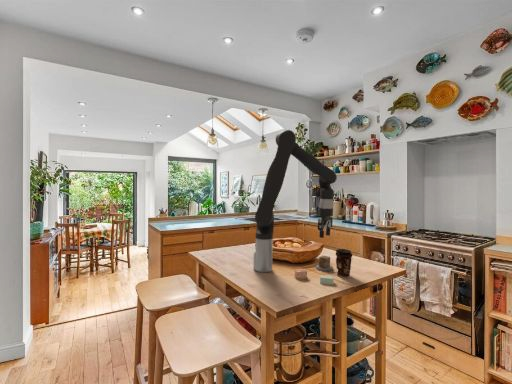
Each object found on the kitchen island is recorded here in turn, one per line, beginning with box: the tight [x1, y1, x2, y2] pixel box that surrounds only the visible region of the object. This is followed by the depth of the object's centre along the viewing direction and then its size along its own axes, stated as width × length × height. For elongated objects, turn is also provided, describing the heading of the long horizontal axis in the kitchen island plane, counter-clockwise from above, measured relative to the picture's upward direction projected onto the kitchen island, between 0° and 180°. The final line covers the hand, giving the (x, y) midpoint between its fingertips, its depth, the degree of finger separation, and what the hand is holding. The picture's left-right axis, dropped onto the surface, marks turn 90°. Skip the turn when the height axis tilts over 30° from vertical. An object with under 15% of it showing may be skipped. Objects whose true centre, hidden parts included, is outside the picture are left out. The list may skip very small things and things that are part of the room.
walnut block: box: [318, 255, 331, 269], centre depth 149 cm, size 4×4×6 cm
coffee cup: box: [335, 248, 353, 279], centre depth 138 cm, size 9×8×13 cm
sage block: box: [319, 274, 334, 285], centre depth 128 cm, size 6×4×3 cm, turn 77°
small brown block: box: [294, 268, 308, 281], centre depth 134 cm, size 6×6×4 cm
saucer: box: [315, 264, 333, 272], centre depth 149 cm, size 9×9×1 cm
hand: (324, 236), depth 148 cm, fingers open, 8 cm apart
